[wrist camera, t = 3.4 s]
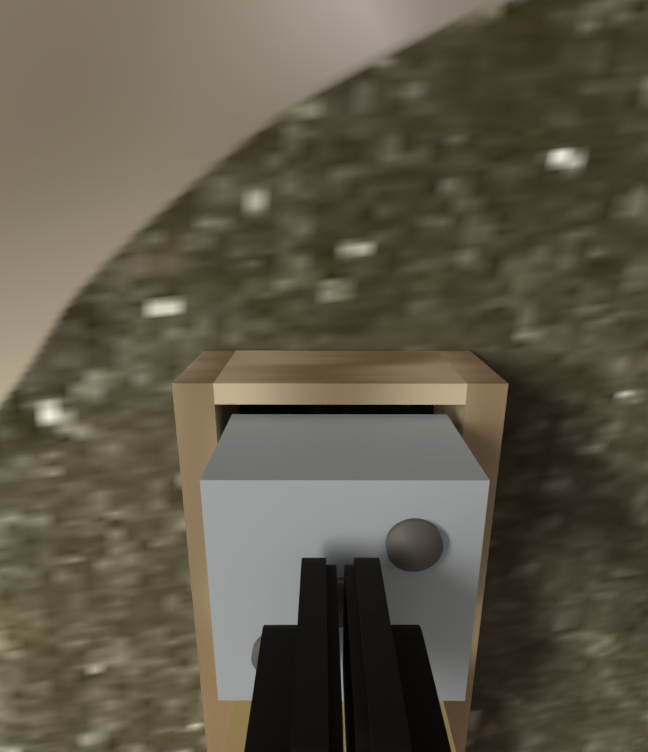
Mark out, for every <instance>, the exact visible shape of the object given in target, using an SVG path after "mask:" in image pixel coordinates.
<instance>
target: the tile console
mask: <svg viewBox="0 0 648 752" xmlns="http://www.w3.org/2000/svg"><path fill="white" fill-rule="evenodd" d="M172 389H173V400H174V410H175V420H176V431H177V441H178V452H179V462H180V473H181V483H182V494H183V504H184V514H185V525H186V535H187V546H188V556H189V567H190V577H191V588H192V598H193V609H194V619H195V629H196V640H197V650H198V661H199V671H200V682H201V692H202V703H203V713H204V723H205V734H206V744H207V752H225V747H226V742H227V736H228V731H229V726H230V721H231V715H232V710H233V705H234V700H218V693H217V681H216V669H215V657H214V645H213V633H212V621H211V609H210V597H209V585H208V573H207V561H206V549H205V537H204V525H203V513H202V501H201V489H200V479H201V477H202V475H203V472H204V470H205V468H206V466H207V464H208V462H209V460H210V458H211V456H212V454H213V452H214V450H215V448H216V446H217V444H218V442H219V440H220V438H221V436H222V434H223V432H224V430H225V428H226V426H227V424H228V421H229V419H230V417H231V415H232V414H240V410H239V404H271V405H434V408H433V414H447V415H448V417H449V418H450V420H451V421H452V423H453V425H454V426H455V428H456V429H457V431H458V432H459V434H460V435H461V437H462V438H463V440H464V442H465V443H466V445H467V446H468V448H469V449H470V451H471V452H472V454H473V455H474V457H475V459H476V460H477V462H478V463H479V465H480V466H481V468H482V469H483V471H484V472H485V474H486V476H487V477H488V479H489V480H490V482H489V491H488V500H487V509H486V518H485V527H484V536H483V544H482V553H481V562H480V571H479V580H478V589H477V598H476V607H475V615H474V624H473V633H472V642H471V651H470V660H469V669H468V678H467V686H466V695H465V701H443V702H444V706H445V710H446V714H447V718H448V722H449V726H450V730H451V734H452V738H453V742H454V746H455V750H456V752H465V749H466V741H467V732H468V724H469V715H470V707H471V698H472V690H473V681H474V673H475V664H476V656H477V647H478V639H479V630H480V622H481V613H482V605H483V596H484V588H485V579H486V571H487V562H488V554H489V545H490V537H491V528H492V520H493V511H494V503H495V494H496V486H497V477H498V469H499V460H500V452H501V443H502V435H503V426H504V418H505V409H506V401H507V392H508V383H507V382H506V381H505V380H504V379H503V378H501V377H500V376H499V375H498V374H497V373H496V372H494V371H493V370H492V369H491V368H490V367H489V366H487V365H486V364H485V363H484V362H483V361H482V360H480V359H479V358H478V357H477V356H476V355H475V354H473V353H472V352H471V351H284V350H204V351H203V352H202V353H201V354H200V355H199V356H198V357H197V358H196V359H195V360H194V361H193V362H192V363H191V364H190V365H189V366H188V367H187V368H186V369H185V370H184V371H183V372H182V373H181V374H180V376H179V377H178V378H177V379H176V380H175V381H174V382H173V383H172Z"/></svg>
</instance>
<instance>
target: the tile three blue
mask: <svg viewBox="0 0 648 752" xmlns="http://www.w3.org/2000/svg"><path fill="white" fill-rule="evenodd" d="M489 482H490V480H489V479H488V477H487V476H486V474H485V472H484V471H483V469H482V468H481V466H480V465H479V463H478V462H477V460H476V459H475V457H474V455H473V454H472V452H471V451H470V449H469V448H468V446H467V445H466V443H465V442H464V440H463V438H462V437H461V435H460V434H459V432H458V431H457V429H456V428H455V426H454V425H453V423H452V421H451V420H450V418H449V417H448V415H447V414H232V415H231V417H230V419H229V421H228V424H227V426H226V428H225V430H224V432H223V434H222V436H221V438H220V440H219V442H218V444H217V446H216V448H215V450H214V452H213V454H212V456H211V458H210V460H209V462H208V464H207V466H206V468H205V470H204V472H203V475H202V477H201V479H200V489H201V501H202V513H203V525H204V537H205V549H206V561H207V573H208V585H209V597H210V609H211V621H212V633H213V645H214V657H215V669H216V681H217V693H218V700H252V695H253V688H254V682H255V675H256V668H257V662H258V655H259V648H260V641H261V635H262V629H263V626H264V625H297V623H298V607H299V591H300V575H301V560H302V558H326V560H327V565H336V566H337V590H338V615H339V639H340V664H341V688H342V701H344V693H343V605H344V565H353V562H354V558H379V559H380V564H381V570H382V576H383V581H384V587H385V593H386V599H387V605H388V611H389V617H390V623H391V625H419V626H420V627H421V630H422V633H423V637H424V641H425V645H426V649H427V653H428V657H429V662H430V666H431V670H432V674H433V678H434V682H435V686H436V690H437V694H438V698H439V701H465V695H466V686H467V678H468V669H469V660H470V651H471V642H472V633H473V624H474V615H475V607H476V598H477V589H478V580H479V571H480V562H481V553H482V544H483V536H484V527H485V518H486V509H487V500H488V491H489Z"/></svg>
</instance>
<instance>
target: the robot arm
mask: <svg viewBox="0 0 648 752" xmlns="http://www.w3.org/2000/svg"><path fill="white" fill-rule="evenodd" d="M343 693H344V715H345V737H346V752H451V747H450V743H449V739H448V735H447V731H446V727H445V723H444V719H443V715H442V711H441V707H440V702H439V698H438V694H437V690H436V686H435V682H434V678H433V674H432V670H431V666H430V662H429V657H428V653H427V649H426V645H425V641H424V637H423V633H422V630H421V627H420V626H419V625H391V623H390V617H389V611H388V605H387V599H386V593H385V587H384V581H383V576H382V570H381V564H380V559H379V558H354V562H353V565H344V605H343ZM244 752H344V745H343V713H342V688H341V664H340V639H339V615H338V590H337V566H336V565H327V560H326V558H302V560H301V575H300V591H299V607H298V623H297V625H264V626H263V629H262V635H261V641H260V648H259V655H258V662H257V668H256V675H255V682H254V688H253V695H252V702H251V709H250V715H249V722H248V729H247V736H246V742H245V749H244Z"/></svg>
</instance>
